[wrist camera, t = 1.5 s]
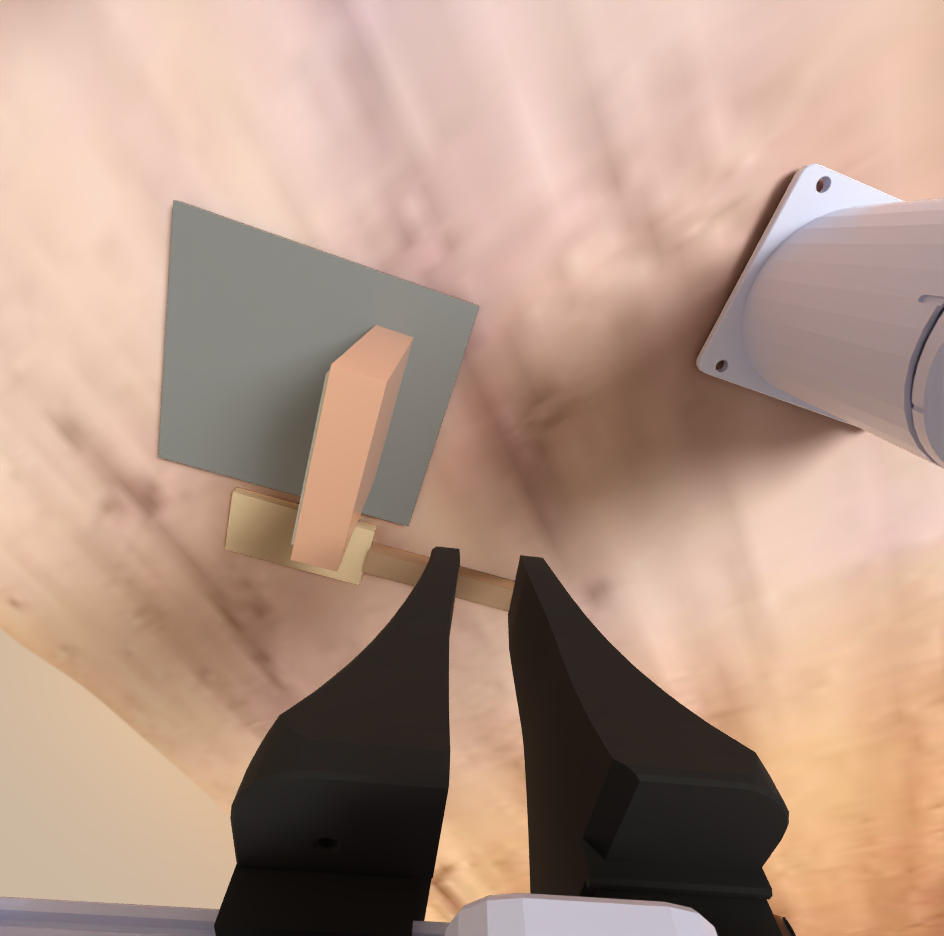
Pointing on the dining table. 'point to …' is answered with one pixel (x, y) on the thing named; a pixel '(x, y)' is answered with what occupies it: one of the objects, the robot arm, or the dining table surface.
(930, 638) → the dining table surface
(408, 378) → the mat
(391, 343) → the tile
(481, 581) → the tan wooden bar
